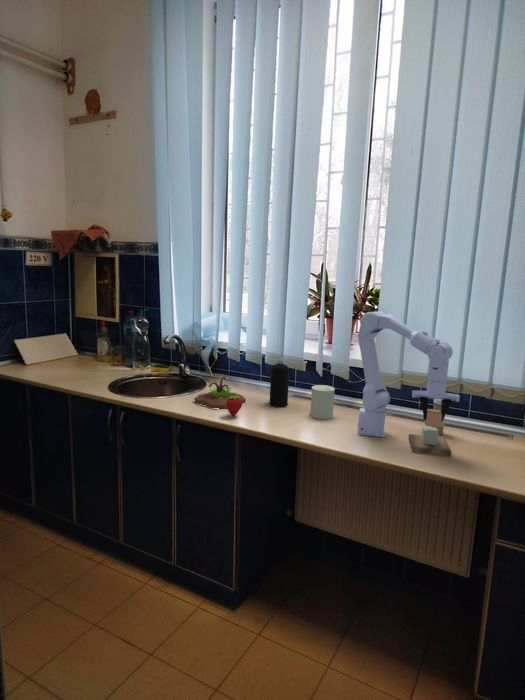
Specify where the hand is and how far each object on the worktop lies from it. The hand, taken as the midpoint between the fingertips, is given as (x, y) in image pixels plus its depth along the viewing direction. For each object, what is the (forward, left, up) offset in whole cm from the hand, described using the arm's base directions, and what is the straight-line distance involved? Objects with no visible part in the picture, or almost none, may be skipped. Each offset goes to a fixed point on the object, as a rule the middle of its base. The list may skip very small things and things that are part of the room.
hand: (432, 420), depth 157 cm
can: (-38, +25, -11) cm, 47 cm away
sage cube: (0, +2, -8) cm, 8 cm away
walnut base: (0, +2, -10) cm, 10 cm away
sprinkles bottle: (+5, +18, -11) cm, 21 cm away
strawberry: (-71, +13, -11) cm, 73 cm away
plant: (-81, +30, -11) cm, 87 cm away
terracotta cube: (0, 0, -2) cm, 2 cm away
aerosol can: (-57, +34, -11) cm, 67 cm away
